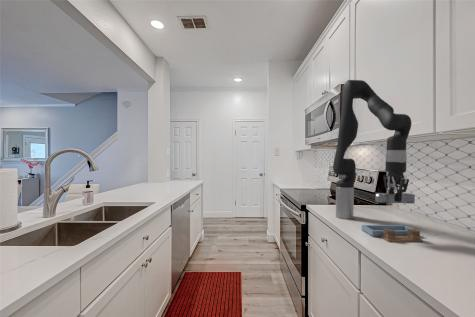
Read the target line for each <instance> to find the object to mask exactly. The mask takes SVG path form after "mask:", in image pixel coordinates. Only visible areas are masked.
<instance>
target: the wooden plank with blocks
mask: <svg viewBox="0 0 475 317" xmlns="http://www.w3.org/2000/svg"><path fill="white" fill-rule="evenodd" d="M420 235H421V231H420V230H418V229H415V228H413V229H407V236H395V231H394V230H392V229H383V236H381V237H380V238H381V239H382V240H383V241H386V242H388V243H389V242H390V243H423V242H424V240H423V239H421V237H420Z"/></svg>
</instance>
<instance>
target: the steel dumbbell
mask: <svg viewBox="0 0 475 317" xmlns="http://www.w3.org/2000/svg"><path fill="white" fill-rule="evenodd" d="M395 193H396V192H395ZM395 193H387V192H375V195H374V196H375V198H374V199H375V201H374V202H375V203H378V204H410V205H411V204H415V202H416V201H415V200H416V199H415V197H416V195H415V193H408V192H403V193H402V200H401V202H396V201H395Z"/></svg>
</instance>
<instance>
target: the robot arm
mask: <svg viewBox="0 0 475 317" xmlns="http://www.w3.org/2000/svg"><path fill="white" fill-rule="evenodd" d="M341 92H342V93H341V111H340V112H341V114H340V119H339V120H340V121H339V126H338V136H337V145H336V150H335V153H334V160H333V164H332V170H333V173H334V174H335V175H338V176H340V175H341V176H344V177H343V178H342V179H339V180H337V181H336V182H335V217H336V218H339V219H344V220H351V219H354V208H355V205H354V203H355V202H354V201H355V193H354V192H355V190H354V189H355V188H354V187H355V181H356V162H355V160H354V159H353V158H344V157H345V154H346V152H347V150H348V149H349V147H350V146H351V145H352V144H353V142H354V141H355V140H356V138H357V135H358V130H359V122H358V119H357V116H356V115H355V112H354V111H355V110H354V106H353V105H354V103H353V102H354V100H355V99H356V100H357V99H361V100H363V101H365V102H366V104H367V108H368V110H369V112H370V113H371V114H373V115H374V116H375V117H376V118H377V119H378V122H380V124H381V126H382V127H383V128H384V129H385V130H388V131H394V134H393V135H392V136H389V137H387V139H386V151H385V152H386V153H385V172H386V173H387V175H383V184H384V188H385V189H386V190H387V192H388V193H395V201H396V202H401V200H402V193H407V189H408V186H409V182H410V180H409V178H405V176H404V173H406V172H407V162H408V161H407V160H408V159H407V158H408V157H407V155H408V154H407V140H408V137H409V136H410V135H409V134H410V131H411V129H412V128H411V127H412V119H411V117H410V116H409V115H407V114H405V113H404V114H403V113H395V111H394V108H393V107H392V106H391V105H390V104H389V103H388V102H386V101H385V100H383V99H382V98H381V97H380V96H379V95H378V94H377V93H376V92H375V91H374V90H373V89H372V87H371V86H370V85H369V84H368V83H367V82H366V81H365V80H361V79H348V80H347V81H345V82H344V84H343V87H342V91H341Z"/></svg>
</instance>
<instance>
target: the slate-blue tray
mask: <svg viewBox="0 0 475 317" xmlns="http://www.w3.org/2000/svg"><path fill="white" fill-rule="evenodd" d="M383 229H392V230H394V231H395V236H407V229H414V228H413V227H410V226H408V225H404V224H361V231H362V232H363V233H365V234H367V235H369V236H371V237H372V238H381V236H383Z"/></svg>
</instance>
